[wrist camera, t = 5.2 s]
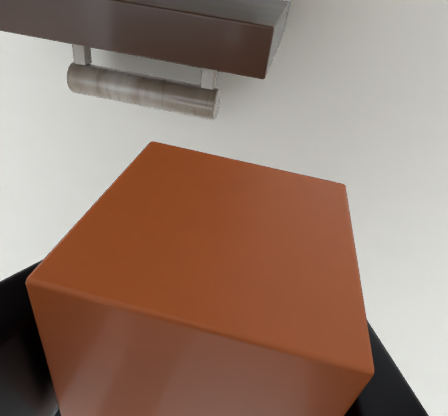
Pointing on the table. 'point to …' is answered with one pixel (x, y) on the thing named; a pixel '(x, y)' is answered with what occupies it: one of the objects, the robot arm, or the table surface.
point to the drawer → (156, 43)
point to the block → (205, 294)
